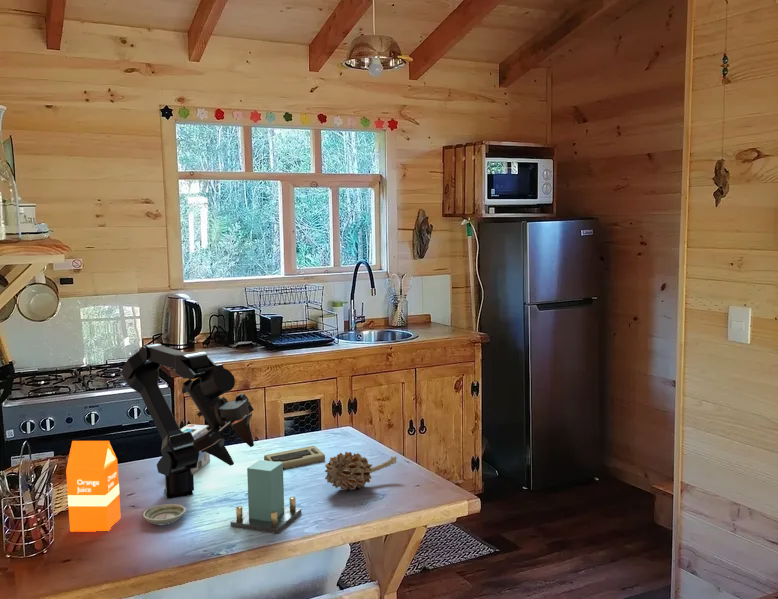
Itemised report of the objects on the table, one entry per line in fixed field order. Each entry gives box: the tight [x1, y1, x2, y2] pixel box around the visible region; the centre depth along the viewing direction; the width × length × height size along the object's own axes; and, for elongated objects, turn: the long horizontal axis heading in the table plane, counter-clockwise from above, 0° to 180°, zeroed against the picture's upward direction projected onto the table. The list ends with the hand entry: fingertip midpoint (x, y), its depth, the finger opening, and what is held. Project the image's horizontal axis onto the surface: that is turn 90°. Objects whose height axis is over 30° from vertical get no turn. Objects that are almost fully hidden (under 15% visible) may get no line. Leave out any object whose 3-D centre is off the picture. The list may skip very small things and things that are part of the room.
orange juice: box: [65, 440, 122, 533], centre depth 172 cm, size 8×9×20 cm
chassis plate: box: [230, 496, 302, 535], centre depth 174 cm, size 12×12×4 cm
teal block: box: [246, 459, 285, 521], centre depth 174 cm, size 6×6×12 cm
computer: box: [263, 445, 326, 469], centre depth 215 cm, size 16×8×3 cm, turn 121°
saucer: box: [142, 503, 187, 525], centre depth 175 cm, size 10×10×2 cm
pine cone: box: [324, 451, 398, 491], centre depth 195 cm, size 22×10×10 cm, turn 129°
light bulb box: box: [180, 424, 211, 474], centre depth 212 cm, size 11×7×11 cm, turn 169°
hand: (242, 455), depth 182 cm, fingers open, 9 cm apart
